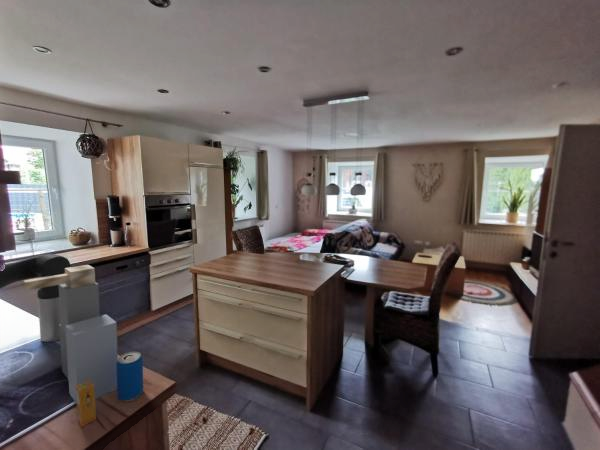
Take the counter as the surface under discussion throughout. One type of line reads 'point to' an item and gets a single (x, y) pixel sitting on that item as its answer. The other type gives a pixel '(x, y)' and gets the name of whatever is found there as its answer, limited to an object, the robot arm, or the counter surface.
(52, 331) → the robot arm
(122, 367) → the beverage can
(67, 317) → the tall tower
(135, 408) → the counter surface
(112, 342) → the grey tall block
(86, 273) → the mallet
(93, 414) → the supplement box
